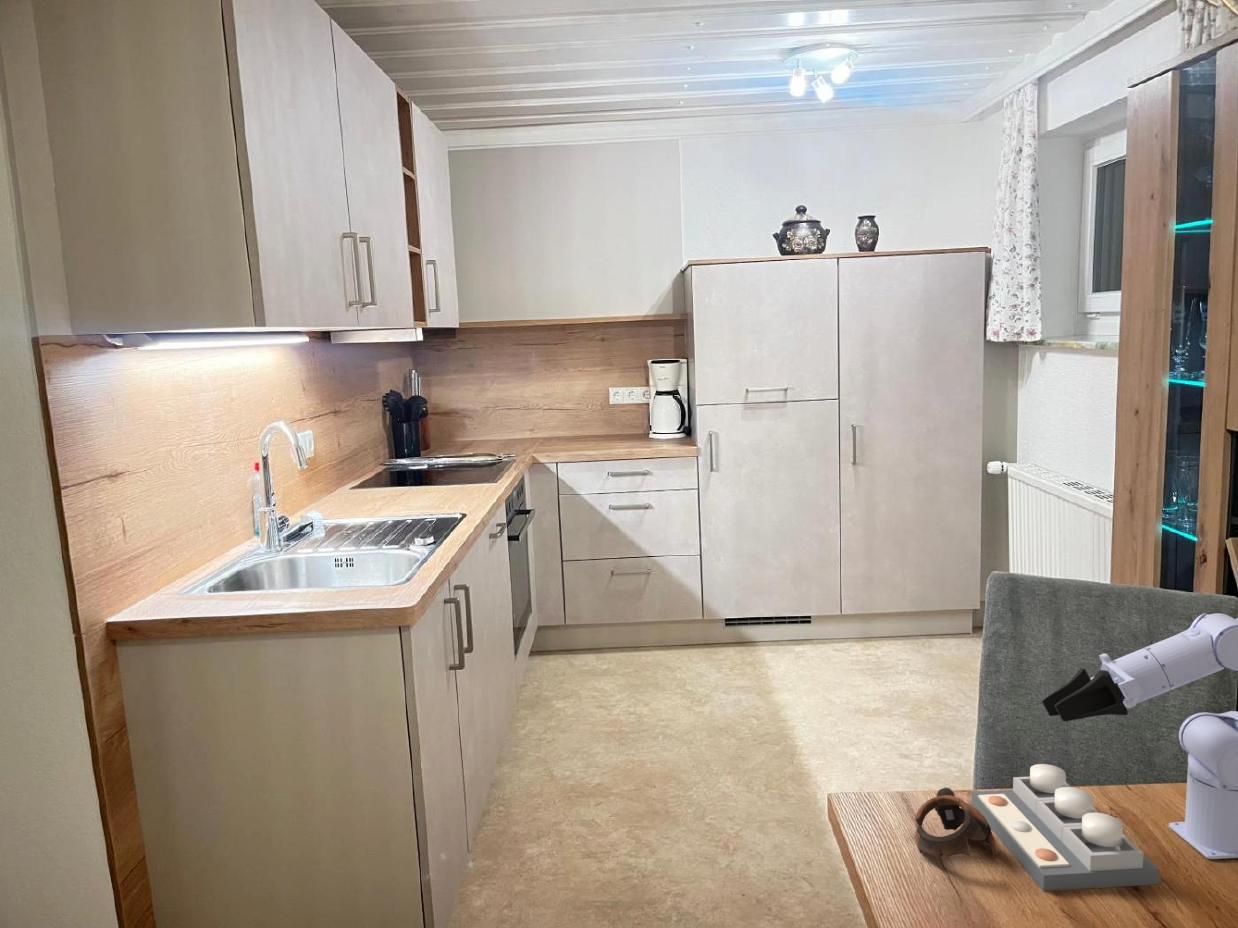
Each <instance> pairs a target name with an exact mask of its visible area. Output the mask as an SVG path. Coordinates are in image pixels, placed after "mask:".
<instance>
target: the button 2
mask: <svg viewBox="0 0 1238 928" xmlns="http://www.w3.org/2000/svg"><path fill="white" fill-rule="evenodd" d="M1123 831H1124V825H1123V822H1121V821H1120V820H1119V819H1118V818H1117V817H1115V816H1112V815H1110V814H1108V813H1102V812H1099V813H1095V812H1094V813H1087V814H1085V815H1083V817H1082V836H1083V837H1084V838H1085V839H1086V840H1087V841H1089V842H1091V843H1093V844H1096V845H1099V846H1103V847H1117V846H1119V845H1121V844H1122V837H1123V835H1124V832H1123Z"/></svg>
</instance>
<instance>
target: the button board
mask: <svg viewBox="0 0 1238 928" xmlns="http://www.w3.org/2000/svg"><path fill="white" fill-rule="evenodd" d="M1012 786H1013V787H1012V789H1000V790H983V791H980V790H979V791H971V799H970V801H971V802H970V803H971V804H970V805H971V806H973V807H974V808H976V809H977V810H978V811H980V813H981V814H982V815H983V816H984V817H985V818H986V820H987V822H988V824H989V825H990V828H991V831H992V832H993V833H994V834H995V835H996V836H997V837H998V839H999V840H1000V841H1001V842H1002V844H1003V845H1004V846H1005V848H1007V850H1008V851H1009V852H1010V853H1011V855H1013V857H1014V858H1015V859H1016V861H1018V863H1019V864H1020V865H1021V867H1023V869H1024V870H1025V871H1026V872H1027V874H1028V875H1029V876H1030V877H1031V878H1032V879H1033V881H1035V883H1036V884H1037V886H1039V888H1040V889H1041V890H1042V891H1043V892H1047V891H1048V892H1050V891H1064V890H1066V891H1067V890H1082V889H1083V890H1085V889H1100V888H1114V887H1115V888H1116V887H1117V888H1118V887H1121V888H1122V887H1134V886H1135V887H1138V886H1153V885H1154V886H1156V885H1159V872H1160V869H1159V867H1158V866H1156V865H1155V864H1154V863H1153V862H1152V861H1151V860H1150V859H1149V858H1148V857H1147V856H1145V855H1144V852H1143V851H1142V850H1141V848H1139V847H1138V846H1136V845H1135V844H1134V843H1133V842H1132V841H1131V840H1130V838H1128V837H1127V836H1126V835H1125V834H1123V837H1122V844H1121V845H1119V846H1117V847H1103V846H1099V845H1096V844H1093V843H1091V842H1089V841H1087V840H1086V839H1085V838H1084V837H1083V836H1082V819H1077V818H1071V817H1067V816H1064V815H1062V814H1060V813H1059V812H1057V811H1056V810H1055V808H1054V801H1055V793H1046V792H1042V791H1039V790H1037V789H1035V788H1033V787H1032V786H1031V785H1030V776H1015V777H1013V779H1012ZM1065 787H1072V786H1071V785H1070V784H1069V783H1067V782H1066V785H1065ZM1094 812H1095V813H1100V811H1098V810H1097V809H1096V808H1095V807H1094V806H1093V807H1092V813H1094Z"/></svg>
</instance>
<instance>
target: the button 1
mask: <svg viewBox="0 0 1238 928" xmlns="http://www.w3.org/2000/svg"><path fill="white" fill-rule="evenodd" d="M1029 771H1030V772H1029V777H1030V785H1031V786H1032V787H1033V788H1035V789H1037V790H1039V791H1042V792H1046V793H1055V790H1056V789H1058V788H1061V787H1065V785H1066V783H1067V781H1066V780H1067V776H1066V775H1067V774H1066V773H1067V772H1065V771H1064V770H1063V769H1062V768H1061V767H1058V766H1055V765H1053V764H1046V763H1037V764H1034V765H1031V767H1030V769H1029Z"/></svg>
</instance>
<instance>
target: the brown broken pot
mask: <svg viewBox="0 0 1238 928" xmlns="http://www.w3.org/2000/svg"><path fill="white" fill-rule="evenodd" d="M933 810H935V812H936V813H937V815H938V816H939V818H940V821H941V824H942V825H943V829H945V831H946V830H947V831H950V830H953V831H954V832H952V833H951V834H948V835H944V836H943V835H942V836H935V835H932V834H930V833H928V832H927V831H925V830H924V828H923V822H924V821H925V818H926V817H927V815H928V814H929V813H930V812H931V811H933ZM914 820H915V822H916V830H915V835H914V836H915V837H914V838H915V843H916V846H917V847H916V848H917V849H918V852H919V853H925V854H928V855H930V856H933V857H937V858H943V857H946V858H947V857H953V856H955V855H960V854H961V855H964V856H967V857H972V856H971V855H972V854H971V853H970V847H969V843H968V839H969V840H972V841H978V840H980V841H981V842H983V843H986V844H987V845H989V847H990V849H991V851H992V856H993V858H994V859H995V860H997V859H998V852H997V844H996V840H995V838H994V835H993V833H992V832H993V831H992V829H991V828H990V825H989V824H988V822H987V820H986V818H985V817H984V816H983V815H982V814H981V813H980V811H978V810H977V809H976V808H974V807H973V806H972V805H971V804H969V803H967V802H965V800H963V799H961V798H960V797H957V796H956V795H955V792H954V791H953V790H952V789H951V788H950V787H946V786H945V787H944V788H940V789H939V790H938V791H937V793H936V796H935V797H932V798H930V799H929V800H927V801H925V802H924V803H923V804H922V805H921V806H920V808H918V809H917V811H916V815H915V819H914Z"/></svg>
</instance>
